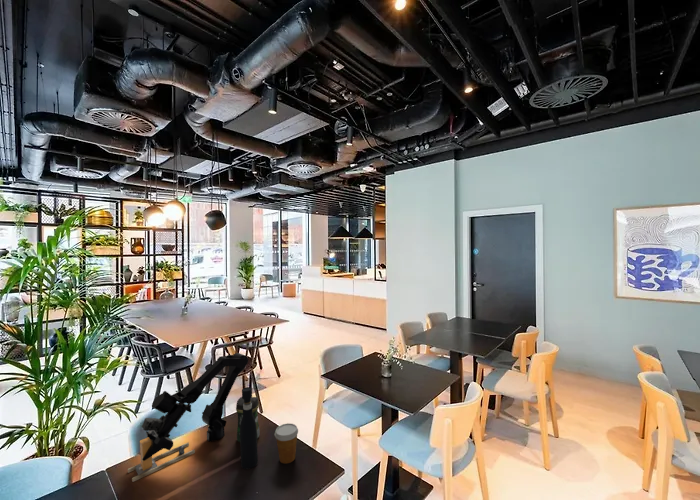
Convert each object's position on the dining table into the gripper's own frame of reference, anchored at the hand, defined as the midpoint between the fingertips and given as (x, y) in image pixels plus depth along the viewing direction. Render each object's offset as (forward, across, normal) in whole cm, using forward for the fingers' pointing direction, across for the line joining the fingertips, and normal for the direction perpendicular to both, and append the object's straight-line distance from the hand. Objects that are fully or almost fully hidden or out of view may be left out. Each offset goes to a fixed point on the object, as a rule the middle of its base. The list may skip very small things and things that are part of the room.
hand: (141, 457), depth 121 cm
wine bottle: (-17, +26, +27) cm, 41 cm away
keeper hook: (-6, 0, +14) cm, 15 cm away
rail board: (0, 0, +10) cm, 10 cm away
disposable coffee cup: (-26, +35, +35) cm, 56 cm away
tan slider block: (+3, 0, +5) cm, 5 cm away
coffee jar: (-23, +10, +32) cm, 41 cm away
